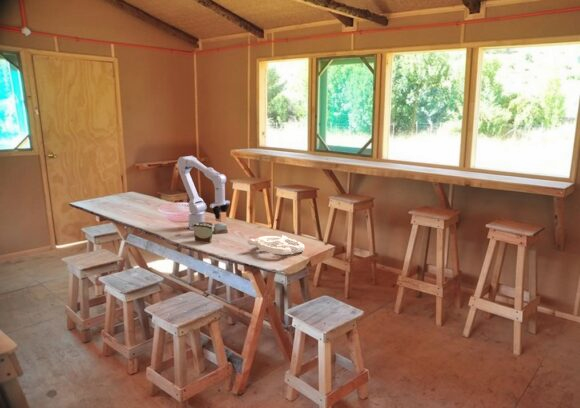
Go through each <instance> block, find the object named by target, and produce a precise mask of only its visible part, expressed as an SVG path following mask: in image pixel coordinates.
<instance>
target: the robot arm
mask: <svg viewBox="0 0 580 408" xmlns="http://www.w3.org/2000/svg"><path fill="white" fill-rule="evenodd" d="M176 164H177V166H178V173H179V176H180V178H181V180H182V184H183V186H184V188H185V191H186V193H187V196H188V198H189V202H188V207H189V208H188V209H189V214H188V216H187V217H188V218H187V219H188V224H187V225H188V228H189V230H190V231H194V227H192V226H193V223H197V222H205V213H206V211H207V209H208V207H207V203H205V201H204V200H203V198H201V197H200V196H199V193H198V192H197V188H196V187H195V184H194V181H193V179H192V176H191V174H190V172H191V170H192V169H193V168H195V169H197V170H198V171H200V172H202V173H203V175H204V176H205V177H207V178H208V179H209V180H211V181H212V184H213V186H214V202H212V203H210V204H209V208H210V209H211V210H212V211H213V213H214V217H215V218H216V219H219V213H220V211H222V212H226V213H227V212H228V209H229V207H230V203H231V201H230V200H227V199H226V185H225V184H226V182H227V179H228V178H227V176H226V175H225V174H224V173H220V172H219V171H217V170H215V169H214V168H213V167H207V166H206V165H204V164H203V163H202V162H201V161H199V160H198V159H197V157H195V156H194V155H188V156H187V155H186V156H179V158H178V159H177V162H176ZM216 219H215V220H216Z"/></svg>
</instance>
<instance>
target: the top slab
mask: <svg viewBox="0 0 580 408" xmlns="http://www.w3.org/2000/svg"><path fill="white" fill-rule="evenodd" d="M227 226H228V225H227V224H226V223H225V222H218V223H214V224H213V227H215V229H216V230H228V227H227Z"/></svg>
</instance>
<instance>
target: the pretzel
mask: <svg viewBox="0 0 580 408" xmlns="http://www.w3.org/2000/svg"><path fill="white" fill-rule="evenodd" d="M246 242H247V244H248V245H250V246H254V247H257V248H258V249H259V250H261V251H263V252H266V253H270V254H274V255H284V256H285V255H287V256H288V255H289V254H290V255H291V254H292V252H293V253H295V254H296V253H297V254H298V253H303V252H304V250H305V244H303V243H302V242H301V241H299V240H297V239H294V238H289V237H288V236H286V235H280V236H277V235H263V236H259V237H257V238H255V239H253V238H249V239H248V240H247V241H246ZM302 251H303V252H302Z"/></svg>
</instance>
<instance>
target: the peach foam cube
mask: <svg viewBox="0 0 580 408" xmlns="http://www.w3.org/2000/svg"><path fill="white" fill-rule="evenodd" d="M225 221H227V211H226V212H222V211H221V210H220V213H219V219H216V218H215V222H218V223H224V222H225Z"/></svg>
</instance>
